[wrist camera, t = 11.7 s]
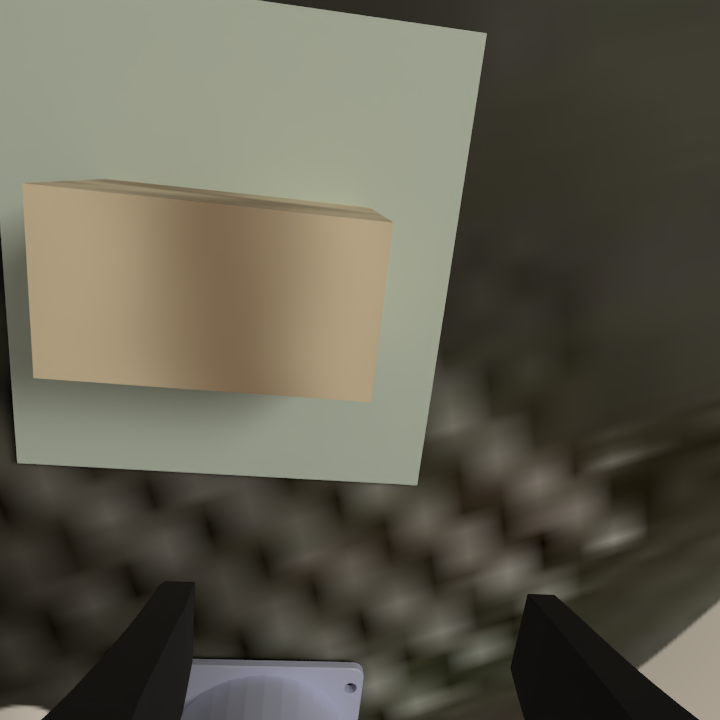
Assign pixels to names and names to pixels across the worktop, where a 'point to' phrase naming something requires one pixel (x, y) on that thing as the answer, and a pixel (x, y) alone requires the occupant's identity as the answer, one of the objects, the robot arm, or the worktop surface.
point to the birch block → (204, 289)
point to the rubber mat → (246, 176)
